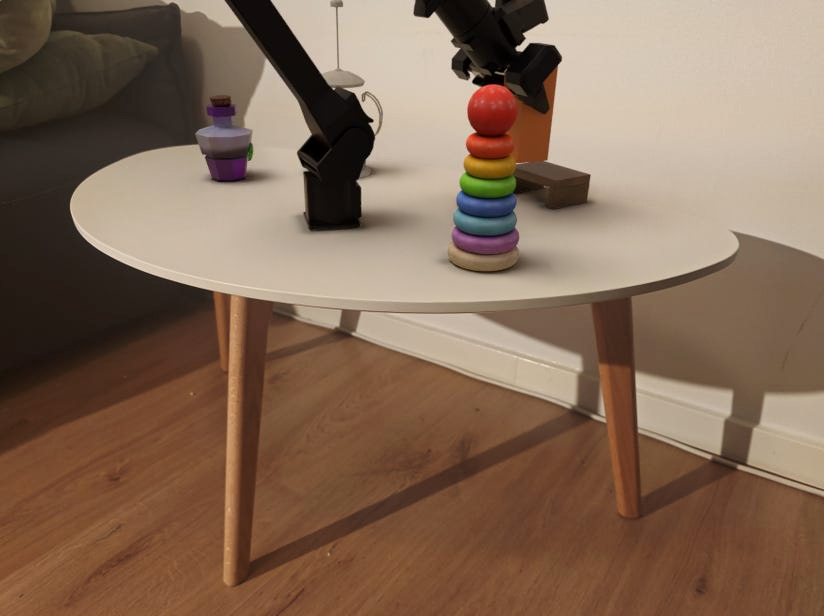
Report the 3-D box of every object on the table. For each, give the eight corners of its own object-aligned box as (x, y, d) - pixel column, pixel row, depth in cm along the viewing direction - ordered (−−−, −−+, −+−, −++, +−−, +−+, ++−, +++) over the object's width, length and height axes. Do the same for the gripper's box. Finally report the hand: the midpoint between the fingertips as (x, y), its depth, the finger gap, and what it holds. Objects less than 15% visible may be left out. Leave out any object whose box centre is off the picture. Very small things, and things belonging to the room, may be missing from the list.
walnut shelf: (552, 209, 97) (555, 180, 95) (504, 192, 104) (506, 165, 102) (587, 202, 101) (591, 174, 99) (538, 186, 108) (541, 160, 106)
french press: (319, 162, 118) (312, -4, 106) (387, 166, 117) (387, -2, 105) (303, 177, 109) (293, -3, 97) (376, 181, 108) (375, 0, 96)
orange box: (517, 163, 95) (526, 64, 89) (498, 155, 99) (505, 60, 93) (547, 160, 97) (558, 63, 91) (527, 153, 101) (537, 59, 95)
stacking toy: (443, 249, 82) (450, 78, 73) (509, 248, 83) (525, 79, 74) (452, 274, 75) (462, 89, 66) (525, 273, 76) (544, 90, 67)
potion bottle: (264, 181, 107) (257, 98, 101) (206, 187, 103) (196, 101, 97) (249, 168, 113) (242, 90, 108) (195, 173, 110) (184, 92, 104)
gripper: (558, -34, 78) (620, 70, 87) (476, -34, 93) (536, 55, 102) (492, 44, 79) (560, 139, 88) (420, 32, 93) (486, 114, 103)
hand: (535, 108), depth 95 cm, fingers closed on orange box, 5 cm apart
